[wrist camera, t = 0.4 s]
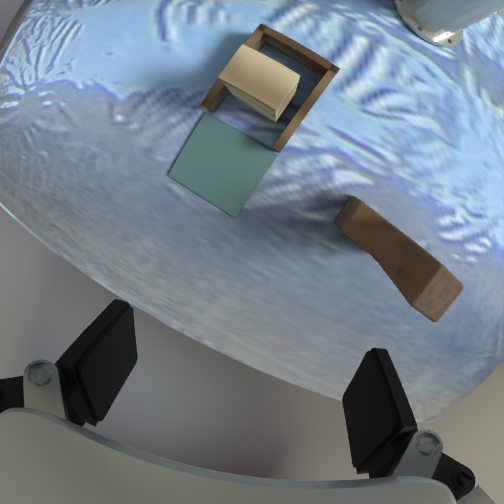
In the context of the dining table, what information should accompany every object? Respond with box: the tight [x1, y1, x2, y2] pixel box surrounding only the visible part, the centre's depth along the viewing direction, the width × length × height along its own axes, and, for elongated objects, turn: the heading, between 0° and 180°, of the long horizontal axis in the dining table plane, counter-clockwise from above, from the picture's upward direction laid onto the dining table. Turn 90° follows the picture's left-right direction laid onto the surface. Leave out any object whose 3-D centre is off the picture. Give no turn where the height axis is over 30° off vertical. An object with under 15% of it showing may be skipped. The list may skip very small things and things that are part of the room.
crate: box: [201, 24, 340, 152], centre depth 29 cm, size 13×11×4 cm
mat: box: [169, 112, 277, 218], centre depth 35 cm, size 10×11×1 cm
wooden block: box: [335, 196, 463, 322], centre depth 28 cm, size 9×4×18 cm, turn 59°
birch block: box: [218, 44, 300, 123], centre depth 26 cm, size 4×6×12 cm, turn 57°
